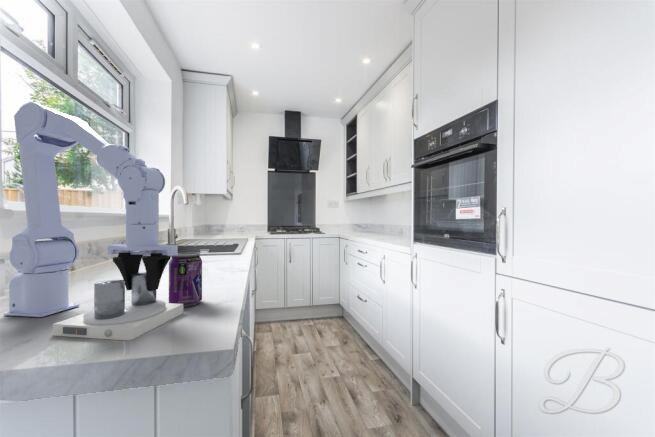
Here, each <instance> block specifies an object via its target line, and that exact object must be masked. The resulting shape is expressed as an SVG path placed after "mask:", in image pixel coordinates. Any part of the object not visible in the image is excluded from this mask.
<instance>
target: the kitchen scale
mask: <svg viewBox="0 0 655 437" xmlns="http://www.w3.org/2000/svg"><path fill="white" fill-rule="evenodd" d="M183 314H184V307H183V304H175V303H169V302H165V301H163V300H160V299H156V302H155V303H152V304H148V305H142V306H134V305H132V304H131V300H125V314H124V315H122V316H120V317H116V318H112V319H105V320H97V319H94V308H92V309H90V310H88V311H87V312H84V313H81V314H78V315H75V316H72V317H69V318H66V319H64V320H61V321H57V322H54V323H52V336H54V337H55V336H56V337H57V336H58V337H68V338H70V337H71V338H86V339H99V340H111V341H112V340H115V341H132V340H134V339H137V338H138V337H140V336H142V335H144V334H146V333H148V332H150V331H151V330H153V329H155V328H157V327H159V326H161V325H163V324H165V323H168V322H169V321H172V320H173V319H175V318H176V317H179V316H180V315H183Z"/></svg>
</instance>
